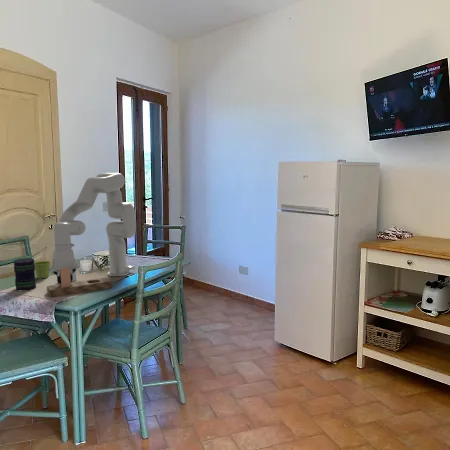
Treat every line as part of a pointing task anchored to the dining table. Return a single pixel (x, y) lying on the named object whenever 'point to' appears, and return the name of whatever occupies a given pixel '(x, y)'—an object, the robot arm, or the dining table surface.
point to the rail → (79, 287)
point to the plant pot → (42, 269)
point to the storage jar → (25, 274)
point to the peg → (65, 277)
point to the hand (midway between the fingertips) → (65, 282)
